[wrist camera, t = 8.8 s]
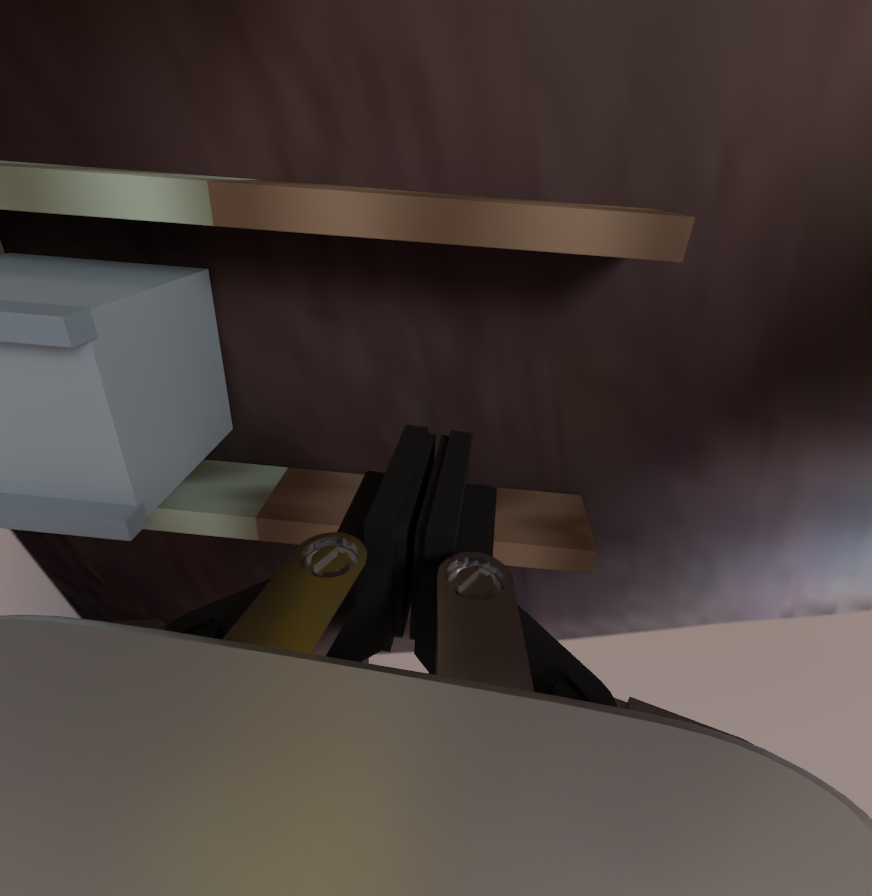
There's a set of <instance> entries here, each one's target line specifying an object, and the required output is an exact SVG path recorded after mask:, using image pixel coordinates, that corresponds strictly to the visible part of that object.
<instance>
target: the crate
mask: <svg viewBox="0 0 872 896" xmlns="http://www.w3.org/2000/svg"><path fill="white" fill-rule="evenodd" d="M232 429H233V427H232V420H231V414H230V407H229V401H228V394H227V388H226V381H225V375H224V368H223V362H222V355H221V349H220V343H219V336H218V330H217V323H216V317H215V310H214V304H213V297H212V291H211V284H210V278H209V271H208V269H203V268H191V267H178V266H166V265H154V264H141V263H129V262H116V261H104V260H92V259H79V258H67V257H54V256H42V255H30V254H17V253H6V254H0V528H7V529H16V530H26V531H36V532H46V533H56V534H66V535H76V536H86V537H96V538H106V539H116V540H125V541H131V540H132V539H133V538H134V537H135V536H136V535H137V534H138V533H139V532H140V531H141V530H142V529H143V528H144V527H145V526H146V525H147V524H148V522H149V520H148V516H149V515H150V514H151V513H152V512H153V511H154V510H155V509H156V508H157V507H158V506H159V505H160V504H161V503H162V502H163V501H164V500H165V499H166V498H167V497H168V496H169V494H170V493H171V492H172V491H173V490H174V489H175V488H176V487H177V486H178V485H179V484H180V483H181V482H182V481H183V480H184V479H185V478H186V477H187V476H188V475H189V474H190V473H191V472H192V471H193V470H194V469H195V468H196V467H197V466H198V464H199V463H200V462H201V461H202V460H203V459H204V458H205V457H206V456H207V455H208V454H209V453H210V452H211V451H212V450H213V449H214V448H215V447H216V446H217V445H218V444H219V443H220V442H221V441H222V440H223V439H224V438H225V437H226V436H227V435H228V433H229V432H230V431H231V430H232Z"/></svg>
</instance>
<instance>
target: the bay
mask: <svg viewBox="0 0 872 896" xmlns="http://www.w3.org/2000/svg"><path fill="white" fill-rule="evenodd" d="M0 209H2V210H15V211H28V212H41V213H54V214H66V215H79V216H92V217H105V218H118V219H131V220H144V221H157V222H170V223H182V224H195V225H208V226H221V227H234V228H247V229H260V230H273V231H286V232H298V233H311V234H324V235H337V236H350V237H363V238H376V239H389V240H402V241H414V242H427V243H440V244H453V245H466V246H479V247H492V248H505V249H518V250H530V251H543V252H556V253H569V254H582V255H595V256H608V257H621V258H634V259H647V260H659V261H672V262H683V258H684V255H685V251H686V248H687V245H688V241H689V238H690V234H691V231H692V227H693V224H694V220H695V217H692V216H687V215H682V214H676V213H671V212H666V211H661V210H656V209H649V208H635V207H622V206H608V205H595V204H581V203H568V202H554V201H541V200H527V199H514V198H500V197H487V196H473V195H460V194H446V193H433V192H419V191H406V190H392V189H379V188H365V187H351V186H338V185H324V184H311V183H297V182H284V181H270V180H257V179H243V178H230V177H216V176H203V175H189V174H176V173H162V172H149V171H135V170H122V169H108V168H95V167H81V166H68V165H54V164H41V163H27V162H14V161H0ZM0 254H5V253H4V250H3V247H2V244H1V241H0ZM363 477H364V475H362V474H352V473H341V472H331V471H320V470H310V469H299V468H288V467H278V466H267V465H257V464H246V463H235V462H225V461H214V460H204V459H203V460H202V461H201V462H200V463H199V464H198V466H197V467H196V468H195V469H194V470H193V471H192V472H191V473H190V474H189V475H188V476H187V477H186V478H185V479H184V480H183V481H182V482H181V483H180V484H179V485H178V486H177V487H176V488H175V489H174V490H173V491H172V492H171V493H170V494H169V496H168V497H167V498H166V499H165V500H164V501H163V502H162V503H161V504H160V505H159V506H158V507H157V508H156V509H155V510H154V511H153V512H152V513H151V514H150V515H149V516H148V520H149V522H148V524H147V525H146V526H145V527H144V528H143V529H148V530H158V531H168V532H178V533H188V534H198V535H208V536H218V537H228V538H238V539H248V540H258V541H268V542H278V543H288V544H298V545H300V544H301V543H302V542H304V541H305V540H307V539H309V538H311V537H312V536H315V535H318V534H322V533H329V532H337V531H338V529H339V527H340V525H341V523H342V520H343V518H344V516H345V514H346V512H347V510H348V508H349V506H350V504H351V502H352V500H353V498H354V496H355V494H356V492H357V490H358V488H359V486H360V483H361V481H362V479H363ZM496 488H497V498H496V514H495V530H494V546H493V557H494V558H496V559H497V560H499V561H500V562H502V563H503V564H504V565H508V566H518V567H528V568H538V569H548V570H558V571H568V572H578V573H588V574H592V572H593V568H594V565H595V561H596V558H597V554H598V549H597V546H596V543H595V539H594V536H593V533H592V530H591V527H590V524H589V521H588V517H587V514H586V511H585V508H584V505H583V502H582V499H581V495H574V494H564V493H553V492H542V491H532V490H521V489H511V488H500V487H496Z"/></svg>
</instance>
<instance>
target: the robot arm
mask: <svg viewBox="0 0 872 896" xmlns="http://www.w3.org/2000/svg"><path fill="white" fill-rule="evenodd" d="M472 435H473V433H469V432H460V431H452V430H451V432H450V436H446V435H442V436H441V440H440V443H439V447H438V451H437V454H436V458H435V461H434V454H435V439H436V435H435V434H430V433H428V428H427V427H419V426H411V425H406V426H405V428H404V430H403V433H402V435H401V437H400V440H399V442H398V445H397V447H396V449H395V452H394V454H393V456H392V459H391V461H390V463H389V466H388V468H387V471H386V473H382V472H374V471H367V472H366V474H365V475H364V477H363V479H362V481H361V483H360V486H359V488H358V490H357V492H356V494H355V496H354V498H353V500H352V502H351V504H350V506H349V508H348V510H347V512H346V514H345V516H344V518H343V520H342V523H341V525H340V527H339V529H338V531H337V532H329V533H322V534H318V535H315V536H312V537H311V538H309V539H307V540H305V541H304V542H302V543H301V544H300V545H299V546H298V547H297V548H296V549H295V550H294V552H293V553H292V554H291V555H290V557H289V558H288V559H287V560H286V562H285V563H284V564H283V565H282V566H281V568H280V569H279V570H278V571H277V573H276V574H275V575H274V576H273V578H271V579H268V580H266V581H264V582H261V583H259V584H256V585H254V586H252V587H249V588H247V589H244V590H242V591H240V592H237V593H235V594H232V595H230V596H228V597H225V598H223V599H220V600H218V601H215V602H213V603H211V604H208V605H206V606H203V607H201V608H199V609H196V610H194V611H191V612H189V613H187V614H185V615H183V616H181V617H179V618H177V619H175V620H174V621H173V622H171V623H170V624H169V625H163V622H162V619H157V620H131V621H106V622H103V621H96V620H87V619H78V618H68V617H59V616H38V615H8V616H0V896H872V819H871V818H870V817H869V816H868V815H867V814H866V813H865V812H864V811H863V810H862V809H860V808H859V807H858V806H857V805H855V804H854V803H853V802H852V801H851V800H849V799H848V798H847V797H846V796H845V795H843V794H842V793H840V792H839V791H837V790H836V789H834V788H833V787H831V786H830V785H828V784H827V783H825V782H824V781H822V780H821V779H819V778H817V777H816V776H814V775H812V774H811V773H809V772H808V771H806V770H804V769H802V768H800V767H798V766H796V765H795V764H792V763H790V762H789V761H787V760H785V759H783V758H781V757H779V756H777V755H775V754H773V753H771V752H769V751H767V750H765V749H763V748H760V747H758V746H755V745H754V744H752V743H750V742H748V741H746V740H744V739H741V738H739V737H736V736H734V735H731V734H728V733H725V732H723V731H720V730H717V729H715V728H712V727H710V726H707V725H704V724H701V723H699V722H696V721H694V720H691V719H688V718H685V717H683V716H680V715H677V714H675V713H672V712H669V711H667V710H664V709H661V708H659V707H656V706H653V705H651V704H648V703H645V702H643V701H640V700H637V699H634V698H632V697H630V698H629V700H628V702H624V701H622V700H619V699H616V698H614V697H613V696H612V694H611V692H610V691H609V690H608V689H607V688H606V686H605V685H604V684H603V683H602V682H601V681H600V680H599V679H598V678H597V677H596V676H595V675H594V674H593V673H592V672H591V671H590V670H588V669H587V668H586V667H585V666H584V665H583V664H582V663H581V662H580V661H579V660H577V659H576V658H575V657H574V656H573V655H572V654H571V653H570V652H569V651H568V650H567V649H566V648H564V647H563V646H562V645H561V644H560V643H559V642H558V641H557V640H556V639H555V638H554V637H552V636H551V635H550V634H549V633H548V632H547V631H546V630H545V629H544V628H543V627H542V626H540V625H539V624H538V623H537V622H536V621H535V620H534V619H533V618H532V617H531V616H530V615H528V614H527V613H526V612H525V611H524V610H523V609H522V608H521V607H520V606H519V605H518V604H517V599H516V594H515V589H514V584H513V579H512V576H511V574H510V571H509V570H508V569H507V568H506V566H505V565H504V564H503V563H502V562H500V561H499V560H497V559H496V558H494V557H493V546H494V530H495V514H496V498H497V488H496V487H489V486H481V485H473V484H467V480H468V471H469V462H470V453H471V444H472ZM410 606H411V620H410V639H413V640H415V651H414V654H415V655H416V656H417V658H418V659H419V660H420V662H421V663H422V664H423V665H424V667H425V668H426V669H427V670H428V672H429V674H427V673H421V672H415V671H409V670H403V669H397V668H391V667H385V666H379V665H373V664H368V663H369V660H368V659H369V657H371V656H372V655H374V654H376V653H378V652H379V651H381V650H382V651H389V652H390V650H391V646H392V643H393V639H394V636H395V637H401V638H402V637H403V634H404V631H405V626H406V622H407V618H408V614H409V610H410Z"/></svg>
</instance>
